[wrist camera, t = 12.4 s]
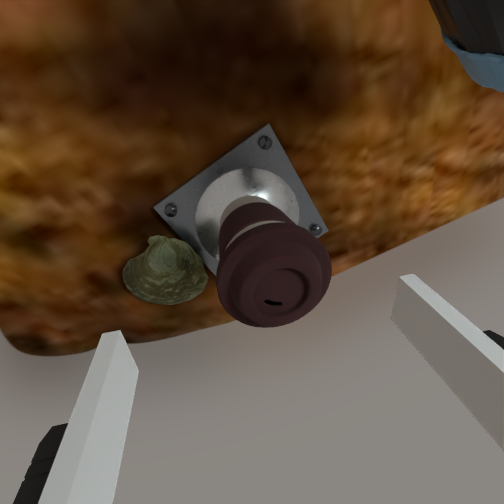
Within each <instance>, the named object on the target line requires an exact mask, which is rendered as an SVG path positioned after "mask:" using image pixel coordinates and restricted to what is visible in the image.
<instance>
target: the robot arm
mask: <svg viewBox="0 0 504 504" xmlns="http://www.w3.org/2000/svg"><path fill="white" fill-rule="evenodd" d="M429 2H430V4H431V7H432V9H433V11H434V13H435V15H436V17H437V20H438V22H439V24H440V26H441V33H442V36H443V39H444V42H445V44H446V45H447V46H448V47H449V48H450V49H451V50H452V51H453V52H455V53H456V55H457V57H458V58H459V60H460V62H461V64H462V65H463V67H464V69H465V71H466V72H467V74H468V75H469V77H470V78H471V79H472V80H474V81H475V82H476V83H477V84H479V85H481V86H483V87H489V88H493V89H495V90H496V91H500V92H504V0H429ZM391 319H392V321H393V322H394V323H395V325H396V326H397V327H398V328H399V329H400V330H401V332H402V333H403V334H404V335H405V336H406V337H407V339H409V341H410V342H411V343H412V344H413V345H414V347H415V348H416V349H417V350H418V351H419V353H420V354H421V355H422V356H423V357H424V359H425V360H426V361H427V362H428V363H429V364H430V365H431V367H433V369H434V370H435V371H436V372H437V373H438V375H439V376H440V377H441V378H442V379H443V381H444V382H445V383H446V384H447V385H448V386H449V388H450V389H451V390H452V391H453V392H454V394H455V395H456V396H457V397H458V398H459V399H460V401H461V402H462V403H463V404H464V405H465V406H466V408H467V409H468V410H469V411H470V412H471V413H472V415H473V416H474V417H475V418H476V419H477V420H478V422H479V423H480V424H481V425H482V426H483V428H484V429H485V430H486V431H487V432H488V433H489V435H490V436H491V437H492V438H493V439H494V440H495V442H496V443H497V444H498V445H499V446H500V447H501V449H502V450H503V451H504V337H502V336H500V335H498V334H496V333H494V332H492V331H490V330H487V331H483V332H482V331H481V330H479V329H478V328H477V327H476V326H475V325H474V324H473V323H471V322H470V321H469V320H468V319H467V318H465V317H464V316H463V315H462V314H461V313H459V312H458V311H457V310H456V309H455V308H453V307H452V306H451V305H450V304H449V303H448V302H446V301H445V300H444V299H443V298H441V297H440V296H439V295H438V294H437V293H436V292H434V291H433V290H432V289H431V288H429V286H427V285H426V284H425V283H424V282H422V281H421V280H420V279H419V278H418V277H417V276H415V275H414V274H410V275H405V276H399V278H398V284H397V289H396V294H395V299H394V305H393V310H392V316H391ZM138 373H139V370H138V368H137V366H136V364H135V361H134V359H133V357H132V355H131V353H130V350H129V348H128V346H127V344H126V341H125V339H124V337H123V335H122V333H121V330H118V331H113V332H108V333H103V334H102V336H101V338H100V341H99V344H98V346H97V349H96V352H95V354H94V357H93V360H92V362H91V365H90V368H89V370H88V373H87V375H86V378H85V381H84V383H83V386H82V389H81V391H80V394H79V397H78V399H77V402H76V405H75V407H74V410H73V413H72V415H71V418H70V420H69V423H66V424H62V425H57V426H53V427H52V428H51V429H50V430H49V432H48V433H47V434H46V436H45V437H44V438H43V440H42V441H41V442H40V443H39V445H38V448H37V450H36V452H35V455H34V457H33V459H32V461H31V463H32V464H31V465H30V466H29V468H28V470H27V473H26V475H25V480H24V481H23V482H22V484H21V487H20V489H19V491H18V493H17V496H16V498H15V500H14V503H13V504H113V499H114V494H115V489H116V484H117V479H118V474H119V469H120V464H121V459H122V453H123V449H124V444H125V439H126V434H127V429H128V424H129V419H130V414H131V409H132V403H133V398H134V393H135V388H136V383H137V378H138Z"/></svg>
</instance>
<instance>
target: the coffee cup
mask: <svg viewBox="0 0 504 504" xmlns="http://www.w3.org/2000/svg"><path fill="white" fill-rule="evenodd" d="M331 273H332V266H331V260H330V257H329V254H328V252H327V250H326V248H325V247H324V246H323V244H322V243H321V242H320V241H319V240H318V239H317V238H316V237H315V236H314V235H313V234H312V233H311V232H310V231H308V230H307V229H305V228H303V227H301V226H298V225H296V224H295V223H294V222H293V221H292V220H291V219H290V218H289V217H288V216H287V215H286V214H285V213H283V212H282V211H281V210H280V209H279V208H277V207H275V206H273V205H272V204H271V203H270V202H269V201H268V200H266V199H264V198H262V197H259V196H252V195H249V196H243V197H240V198H238V199H235V200H234V201H232V202H231V203H230V204H229V205H228V206H227V207H226V208H225V210H224V211H223V213H222V216H221V219H220V231H219V263H218V267H217V272H216V285H217V292H218V296H219V299H220V302H221V304H222V306H223V307H224V309H225V310H226V311H227V312H228V313H229V314H230V315H231V316H232V317H233V318H235V319H236V320H238V321H240V322H242V323H244V324H246V325H250V326H254V327H263V328H264V327H265V328H266V327H277V326H282V325H285V324H289V323H291V322H294V321H295V320H298V319H300V318H301V317H303V316H304V315H306V314H307V313H308V312H310V311H311V310H312V309H313V308H314V307H315V306H316V305H317V304H318V303H319V302H320V301H321V299H322V298H323V296H324V294H325V293H326V291H327V289H328V287H329V283H330V280H331Z"/></svg>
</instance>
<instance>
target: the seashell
mask: <svg viewBox="0 0 504 504" xmlns="http://www.w3.org/2000/svg"><path fill="white" fill-rule="evenodd" d="M148 243H149V247H148V248H147V249H146V251H145V252H144V253H142V254H140V255H139V256H137V257H135V258H132V259H129V260H128V262H127V264H126V265H125V267H124V269H123V280H124V283H125V285H126V287H127V288H128V289H129V290H130V292H131V293H133V294H134V295H135V296H136V297H137V298H138V299H140V300H141V301H145V302H149V303H154V304H165V305H173V304H179V303H183V302H185V301H189V300H192V299H193V298H194V297H196V296H198V295H200V293H201V292H202V291H204V288H205V287H206V284H207V281H208V280H209V279H208V276H207V274H206V272H205V270H204V266H203V261H202V259H201V257H200V256H199V255H198V254H197V253H195V251H194V250H193V248H192V247H191V246H190V245H189V244H188V243H186V242H184V241H181V240H178V239H176V238H170V239H169V238H168V237H166V236H160V235H156V236H151V237H150V238H149V239H148Z"/></svg>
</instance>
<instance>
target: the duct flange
mask: <svg viewBox="0 0 504 504" xmlns="http://www.w3.org/2000/svg"><path fill="white" fill-rule="evenodd" d="M249 195H252V196H259V197H262V198H264V199H266V200H268V201H269V202H270V203H271V204H272V205H273V206H275V207H277V208H279V209H280V210H281V211H282V212H283V213H285V214H286V215H287V216H288V217H289V218H290V219H291V220H292V221H293V222H294V223H295V224H296V225H298V226H301V227H303V228H305V229H307V230H308V231H310V232H311V233H312V234H313V235H314V236H315V237H316V238H319V237H320V236H322V235H323V234H325V233H326V232H328V229H327V227H326V225H325V223H324V222H323V220H322V218H321V216H320V214H319V213H318V211H317V209H316V207H315V205H314V204H313V202H312V200H311V198H310V196H309V195H308V193H307V191H306V189H305V187H304V186H303V184H302V182H301V180H300V178H299V177H298V175H297V173H296V171H295V169H294V167H293V166H292V164H291V162H290V160H289V158H288V157H287V155H286V153H285V151H284V149H283V148H282V146H281V144H280V142H279V140H278V139H277V137H276V135H275V133H274V131H273V130H272V128H271V126H270V124H269V123H266V124H265V125H263V126H262V127H260V128H259V129H258V130H256V131H255V132H254V133H252V134H251V135H249V136H248V137H247V138H245V139H244V140H242V141H241V142H240V143H238V144H237V145H236V146H234V147H233V148H231V149H230V150H229V151H227V152H226V153H225V154H223V155H222V156H220V157H219V158H218V159H216V160H215V161H214V162H212V163H211V164H209V165H208V166H207V167H205V168H204V169H203V170H201V171H200V172H198V173H197V174H196V175H194V176H193V177H192V178H190V179H189V180H187V181H186V182H185V183H183V184H182V185H181V186H179V187H178V188H176V189H175V190H174V191H172V192H171V193H170V194H168V195H167V196H165V197H164V198H163V199H161V200H160V201H159V202H157V203H156V204H154V207H153V208H154V209H155V210H156V211H157V212H158V213H159V214H160V215H161V217H162V218H163V219H164V220H165V221H166V222H167V223H168V224H169V225H170V226H171V228H172V229H173V230H174V231H175V232H176V233H177V234H178V235H179V236H180V237H181V239H182V240H183V241H184V242H186V243H188V244H189V245H190V246H191V247H192V248H193V250H194V251H195V253H197V254H198V255H199V256H200V257H201V259H202V261H203V263H204V264H205V265H206V266H207V267H208V268H209V269H210V270H211V271H212V273H213V274H214V275H215V276H216V272H217V267H218V263H219V231H220V219H221V216H222V213H223V211H224V210H225V208H226V207H227V206H228V205H229V204H230V203H231V202H232V201H234V200H235V199H238V198H240V197H243V196H249Z"/></svg>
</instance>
